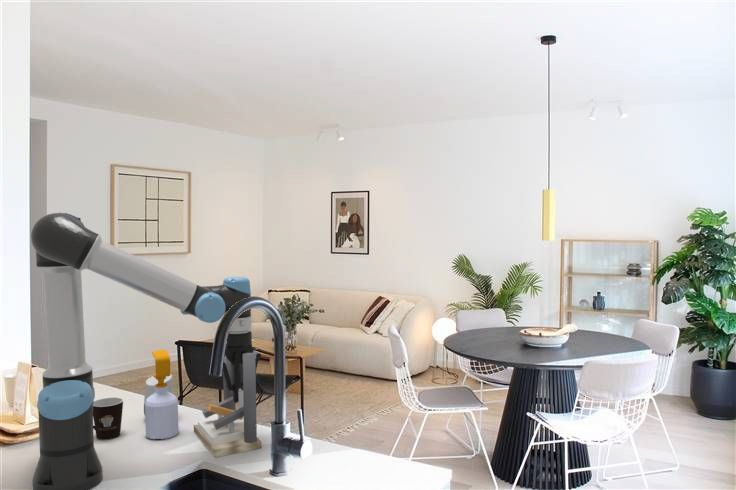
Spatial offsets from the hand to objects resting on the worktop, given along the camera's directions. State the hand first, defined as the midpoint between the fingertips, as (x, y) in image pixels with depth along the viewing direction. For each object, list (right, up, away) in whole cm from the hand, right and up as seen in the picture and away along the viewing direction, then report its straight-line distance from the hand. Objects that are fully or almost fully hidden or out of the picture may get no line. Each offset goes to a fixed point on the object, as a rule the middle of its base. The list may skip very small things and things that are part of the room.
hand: (240, 412), depth 176 cm
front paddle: (-1, 0, -7) cm, 7 cm away
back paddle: (-6, +1, +3) cm, 7 cm away
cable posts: (0, -5, 0) cm, 5 cm away
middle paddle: (-4, +1, -2) cm, 4 cm away
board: (-4, -7, -2) cm, 8 cm away
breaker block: (-4, -5, -2) cm, 7 cm away
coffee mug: (-40, -8, +2) cm, 41 cm away
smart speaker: (-28, -7, +16) cm, 33 cm away
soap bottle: (-23, -7, +3) cm, 25 cm away
